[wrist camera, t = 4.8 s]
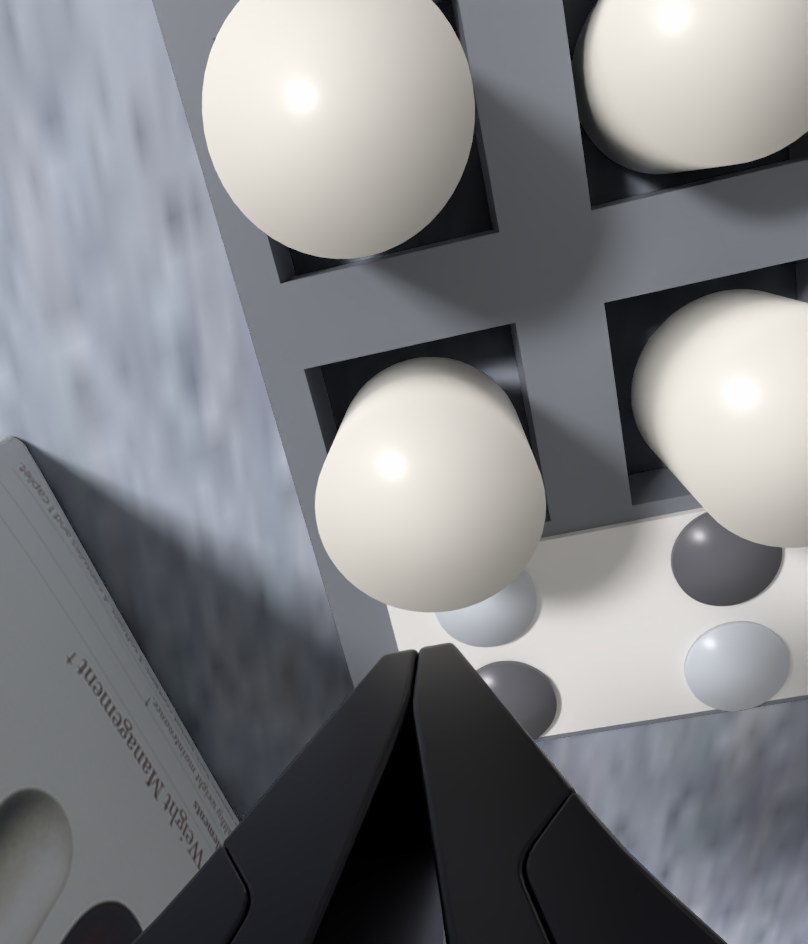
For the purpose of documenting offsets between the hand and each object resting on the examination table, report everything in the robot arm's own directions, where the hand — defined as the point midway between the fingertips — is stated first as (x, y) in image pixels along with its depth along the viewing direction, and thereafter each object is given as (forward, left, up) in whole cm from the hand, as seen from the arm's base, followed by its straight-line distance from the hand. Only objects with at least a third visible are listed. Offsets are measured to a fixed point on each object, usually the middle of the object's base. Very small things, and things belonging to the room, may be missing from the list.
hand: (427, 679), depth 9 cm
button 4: (-7, 0, -10) cm, 12 cm away
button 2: (0, 0, -10) cm, 10 cm away
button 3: (-7, -7, -12) cm, 15 cm away
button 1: (0, -7, -10) cm, 12 cm away
